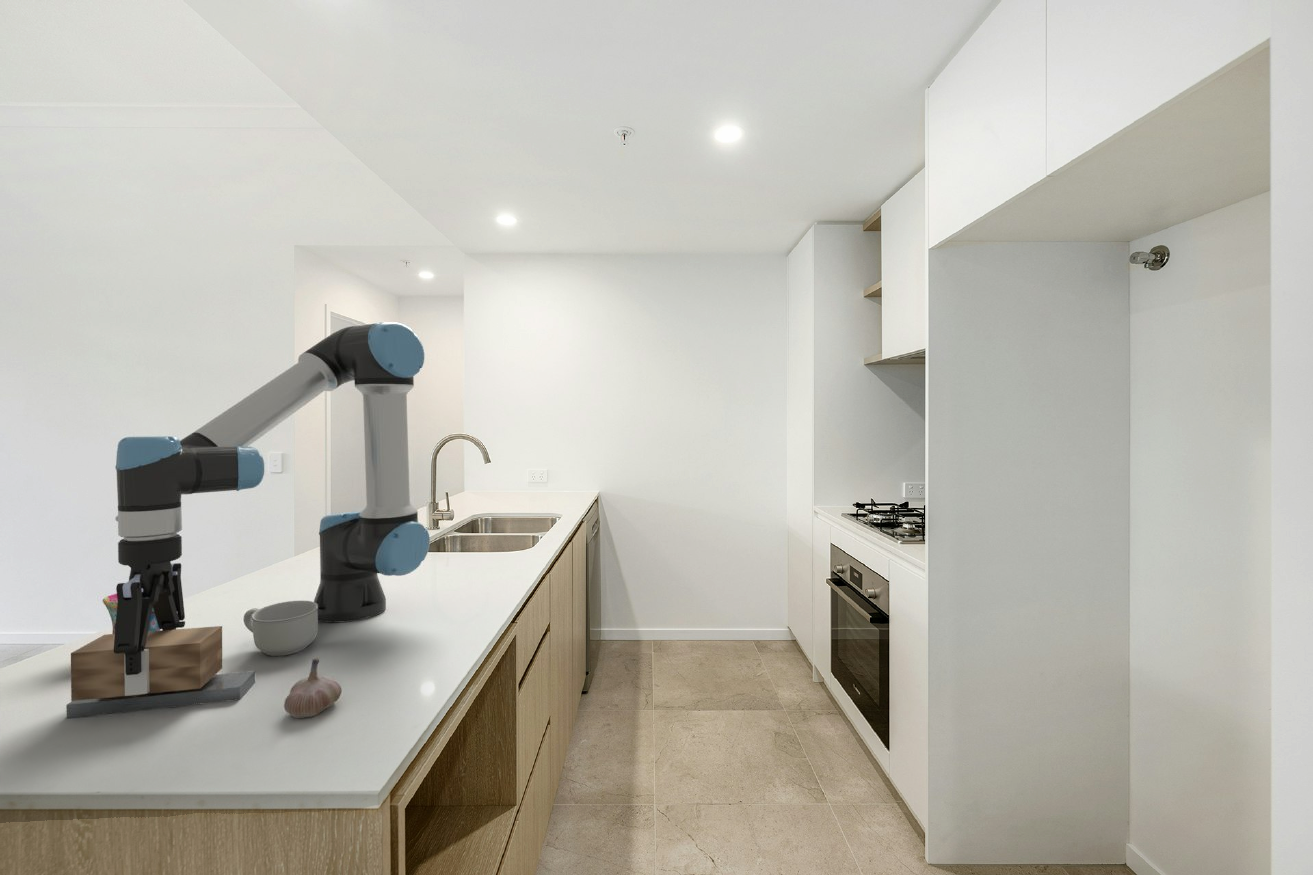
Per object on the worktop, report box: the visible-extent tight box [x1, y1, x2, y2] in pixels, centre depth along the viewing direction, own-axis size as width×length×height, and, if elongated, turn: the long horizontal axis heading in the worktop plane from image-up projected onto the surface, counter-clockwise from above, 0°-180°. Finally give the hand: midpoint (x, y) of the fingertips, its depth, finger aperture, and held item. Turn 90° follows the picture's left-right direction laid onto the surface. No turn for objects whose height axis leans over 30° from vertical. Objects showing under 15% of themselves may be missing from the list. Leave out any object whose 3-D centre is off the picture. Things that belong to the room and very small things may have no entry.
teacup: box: [243, 600, 319, 657], centre depth 114 cm, size 14×11×8 cm
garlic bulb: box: [283, 657, 342, 719], centre depth 90 cm, size 8×7×8 cm
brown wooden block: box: [70, 625, 223, 702], centre depth 93 cm, size 16×8×7 cm, turn 106°
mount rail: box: [65, 670, 256, 719], centre depth 93 cm, size 22×6×5 cm, turn 106°
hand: (152, 681), depth 93 cm, fingers closed on brown wooden block, 8 cm apart
